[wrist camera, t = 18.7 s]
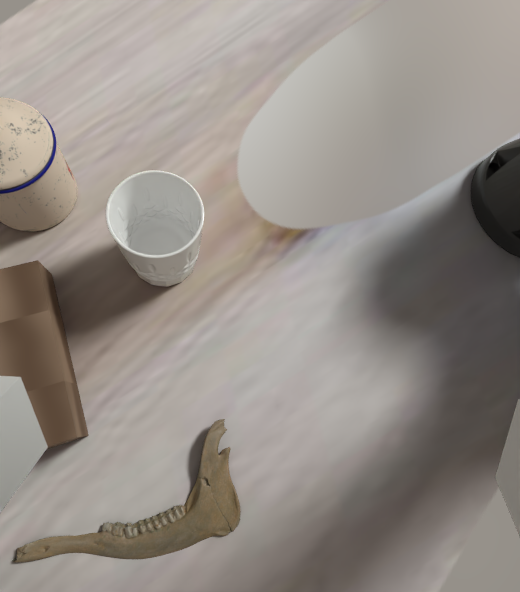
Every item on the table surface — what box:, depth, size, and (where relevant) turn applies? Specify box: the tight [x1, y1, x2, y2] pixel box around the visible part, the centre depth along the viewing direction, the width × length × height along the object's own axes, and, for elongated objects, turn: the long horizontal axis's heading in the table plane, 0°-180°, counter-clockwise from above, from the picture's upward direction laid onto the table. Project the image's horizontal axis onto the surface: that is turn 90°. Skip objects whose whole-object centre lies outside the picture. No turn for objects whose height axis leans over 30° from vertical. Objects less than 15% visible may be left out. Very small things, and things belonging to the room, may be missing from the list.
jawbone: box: [12, 419, 240, 563], centre depth 38 cm, size 9×20×2 cm, turn 123°
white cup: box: [106, 170, 204, 287], centre depth 40 cm, size 8×8×10 cm
